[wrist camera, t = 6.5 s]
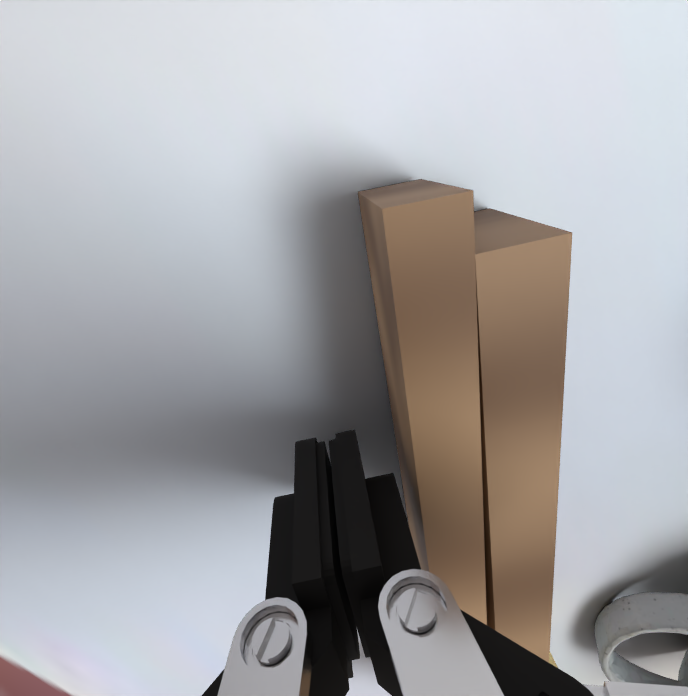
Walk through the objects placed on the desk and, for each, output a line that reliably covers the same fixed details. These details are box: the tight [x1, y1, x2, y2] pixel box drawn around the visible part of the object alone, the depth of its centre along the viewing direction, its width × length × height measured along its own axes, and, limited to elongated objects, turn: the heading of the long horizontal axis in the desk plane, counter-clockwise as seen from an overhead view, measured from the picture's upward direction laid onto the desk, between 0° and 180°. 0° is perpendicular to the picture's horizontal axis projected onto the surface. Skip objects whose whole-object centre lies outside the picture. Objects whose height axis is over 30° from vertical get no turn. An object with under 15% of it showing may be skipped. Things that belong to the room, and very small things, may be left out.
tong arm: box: [358, 179, 487, 625], centre depth 11 cm, size 16×1×3 cm, turn 10°
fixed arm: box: [474, 208, 572, 663], centre depth 12 cm, size 18×2×3 cm, turn 12°
